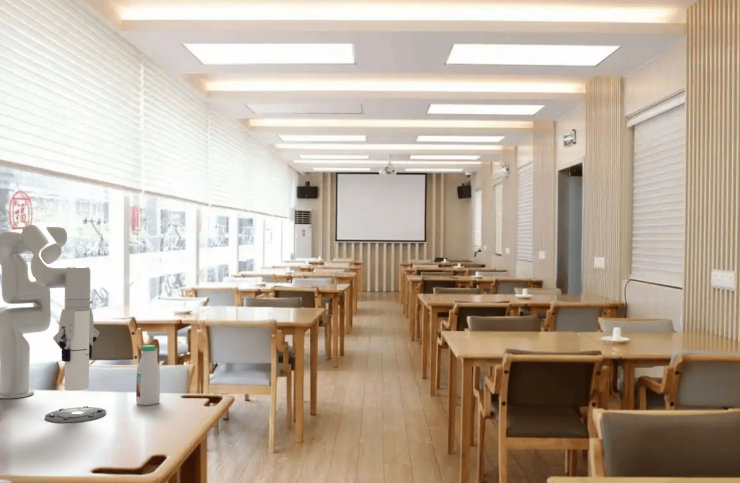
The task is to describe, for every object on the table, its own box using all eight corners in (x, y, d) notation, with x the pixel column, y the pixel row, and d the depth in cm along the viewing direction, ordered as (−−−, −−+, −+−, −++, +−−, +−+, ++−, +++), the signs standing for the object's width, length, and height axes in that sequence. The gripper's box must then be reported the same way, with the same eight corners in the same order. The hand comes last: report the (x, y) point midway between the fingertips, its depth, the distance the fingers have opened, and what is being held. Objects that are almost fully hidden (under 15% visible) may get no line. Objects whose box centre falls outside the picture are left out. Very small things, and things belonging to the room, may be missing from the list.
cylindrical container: (59, 389, 215) (60, 310, 216) (78, 385, 222) (79, 308, 222) (74, 391, 212) (75, 311, 212) (93, 387, 218) (94, 309, 219)
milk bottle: (163, 401, 238) (163, 344, 238) (154, 406, 231) (154, 347, 231) (142, 400, 239) (142, 343, 239) (132, 405, 231) (132, 347, 231)
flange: (32, 417, 214) (32, 414, 214) (82, 406, 229) (82, 402, 229) (69, 425, 205) (69, 421, 205) (118, 413, 220) (118, 409, 220)
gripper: (92, 302, 227) (92, 355, 226) (45, 305, 212) (44, 362, 211) (107, 303, 223) (107, 356, 223) (60, 306, 208) (60, 364, 208)
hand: (76, 359), depth 217 cm, fingers closed on cylindrical container, 7 cm apart
